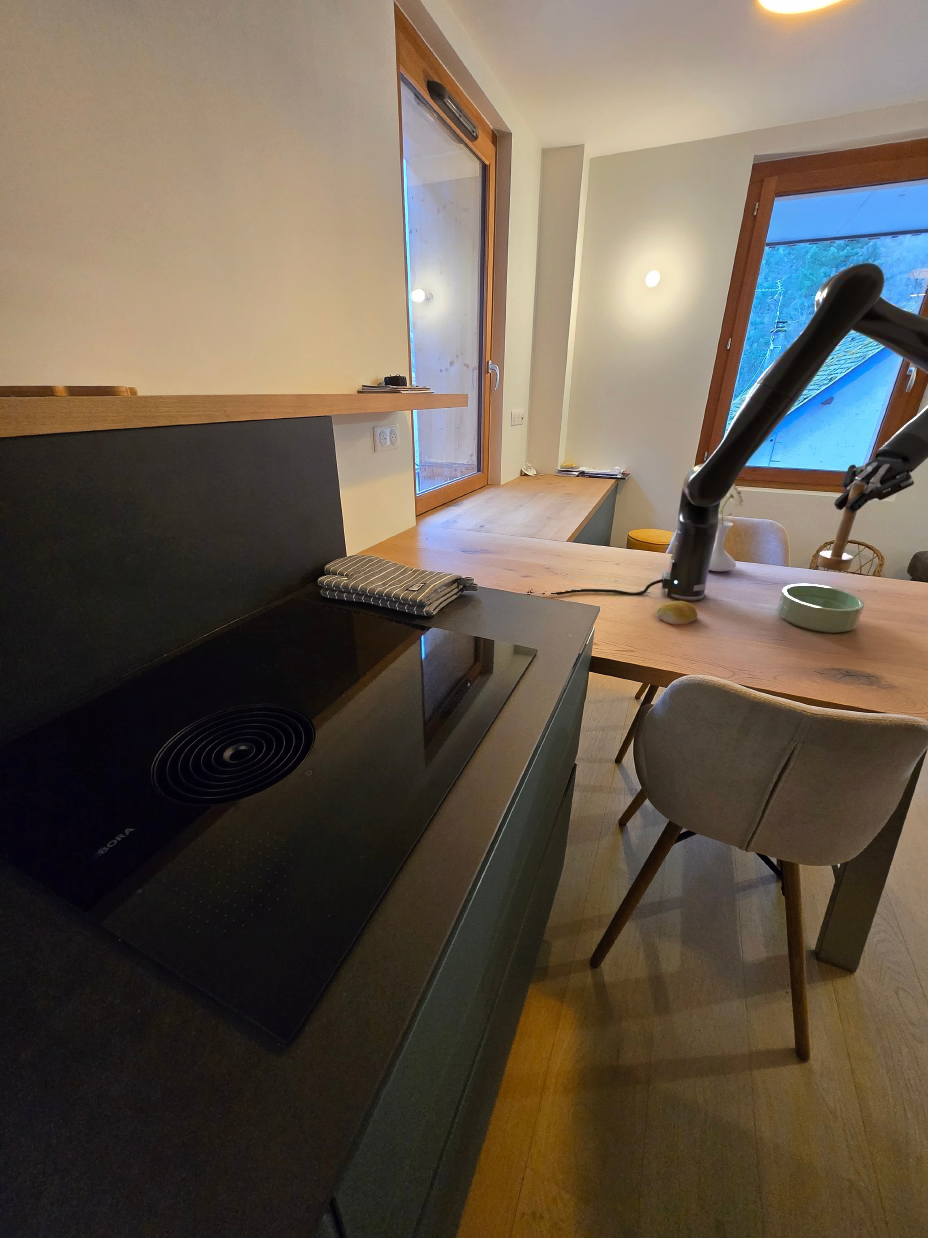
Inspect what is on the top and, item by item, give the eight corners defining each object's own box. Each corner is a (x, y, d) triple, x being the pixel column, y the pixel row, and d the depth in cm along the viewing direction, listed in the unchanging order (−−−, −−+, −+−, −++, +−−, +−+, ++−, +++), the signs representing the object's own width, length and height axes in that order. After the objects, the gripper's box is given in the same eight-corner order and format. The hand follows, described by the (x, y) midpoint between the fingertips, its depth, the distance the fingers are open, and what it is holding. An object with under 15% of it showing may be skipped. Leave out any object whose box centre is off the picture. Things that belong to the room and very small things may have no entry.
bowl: (785, 630, 112) (792, 605, 109) (769, 603, 125) (775, 581, 122) (866, 639, 107) (876, 614, 105) (841, 610, 120) (849, 587, 118)
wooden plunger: (821, 569, 107) (847, 485, 99) (813, 560, 112) (837, 479, 104) (853, 571, 105) (883, 486, 98) (844, 562, 110) (871, 480, 103)
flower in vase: (737, 576, 142) (758, 488, 131) (694, 572, 146) (711, 486, 135) (731, 562, 153) (750, 480, 142) (692, 558, 157) (707, 478, 146)
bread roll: (702, 619, 117) (705, 603, 116) (679, 628, 113) (682, 612, 111) (672, 607, 124) (675, 592, 122) (649, 616, 119) (651, 600, 118)
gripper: (874, 428, 104) (808, 490, 107) (944, 433, 92) (867, 503, 95) (886, 453, 107) (821, 512, 111) (955, 461, 95) (880, 528, 98)
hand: (843, 508), depth 103 cm, fingers closed on wooden plunger
